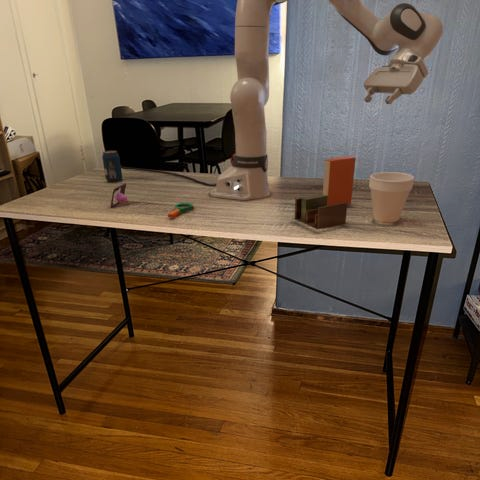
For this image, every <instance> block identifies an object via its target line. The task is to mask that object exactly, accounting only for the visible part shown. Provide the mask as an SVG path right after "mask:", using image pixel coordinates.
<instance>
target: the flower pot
mask: <svg viewBox="0 0 480 480" xmlns="http://www.w3.org/2000/svg"><path fill="white" fill-rule="evenodd" d="M369 177H370V178H369V184H368V187H369V190H370V199H371V207H372V208H371V209H372V216H373V219H374V221H377V222H379V223H380V222H381V223H395V222H398V221H399V219H400V217H401V215H402V213H403V210H404V208H405V205H406V202H407V200H408V198H409V195H410V192H411V190H412V189H413V188H414V187H413V185H414V180H415V176H413V175H412V174H409V173H404V172H397V171H380V172H374V173H372V174H370V176H369Z"/></svg>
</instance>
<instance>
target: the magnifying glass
mask: <svg viewBox="0 0 480 480" xmlns="http://www.w3.org/2000/svg"><path fill="white" fill-rule="evenodd" d="M193 209H194V204H193V203H192V202H179V203H177V204H175V205H174V210H172V211H171V212H169V213H167V218H169V219H173V218H175V217H176V216H178V215H179V214H182V213H185V212H188V211H191V210H193Z"/></svg>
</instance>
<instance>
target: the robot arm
mask: <svg viewBox="0 0 480 480" xmlns="http://www.w3.org/2000/svg"><path fill="white" fill-rule="evenodd" d="M288 1H289V0H237V1H236V8H235V19H234V59H235V64H236V65H235V66H236V75H237V81H236V82H235V83H234V84H233V86H232V88H231V90H230V93H229V94H230V96H229V100H230V103H231V113H232V119H233V125H234V126H233V127H234V134H235V136H234V137H235V138H234V139H235V140H234V141H235V153H234V154H233V155H232V156H231V157H230V158H229V163H230V166H228V168H227V169H225V170H224V171H223V172H222V173H221V174H220V175H219V176H218V177H217V179H216V183H213V184H212V183H207V182H204V181H201V180H197V179H195V178H193V177H190V176H187V175H183V174H180V173H176V172H170V171H163V170H157V169H147V168H138V167H131V166H130V167H129V166H124V165H123V166H122V165H121V169H126V170H127V169H128V170H134V171H135V170H136V171H143V172H145V171H146V172H151V173H152V172H153V173H161V174H168V175H173V176H177V177H181V178H185V179H188V180H191V181H193V182H196V183H198V184H201V185H205V186H208V187H215V188H213V189H212V190H210V197H213V198H221V199H231V200H236V201H238V200H239V201H250V200H255V199H262V198H266V197H269V196H270V195H271V194H272V193H271V189H270V186H269V180H268V170H269V157H268V156H269V155H268V154H267V127H266V126H267V125H266V113H265V106H266V105H267V103H268V101H269V98H270V61H269V60H270V59H269V57H270V56H269V53H270V51H269V50H270V30H271V29H270V27H271V25H270V24H271V13H272V9H273V7H275V6H277V5H280V4H284V3H286V2H288ZM327 2H329V3H330V4H331V5H332V6H333V7H334V9H335V10H336V12H337V13H338V14H339V16H341V17H342V18H343V19H344V20H345V21H346V22H347V23H348V24H350V26H352V27H353V28H354V29H355V30H356V31H357V32H359V33H360V34H361V35H362V36H363V37H364V38H365V39H366V40H367V41H368V43H369V44H370V46H371V48H372V49H373V51H375V53H377V54H378V55H380V56H384V57H385V56H386V57H387V56H391V55H393V57H391V59H390V60H389V62H388V65H381V66H379V67H377V68H375V69H374V70H373V71H372V72H371V73H370V74H369V75H368V77H367V78H366V79H365V80H364V82H363V87H364V89H365V91H366V95H365V96H364V98H363V100H364V103H371V101H372V100H373V97H372V96H373V95H375V94H390V95H387V96H386V98H385V99H384V102H385V104H386V105H392V104H393V102H394V101H396V100H397V99H398V98H400V97H401V96H402V95H407V96H408V95H409V96H410V95H412V94H414V93H415V92H416V91H417V90H418V89H419V87H420V86H421V85H422V83H423V82H424V79H425V78H426V77H427V76H428V75H429V70H428V68H427V65H426V64H425V60H426V59H427V58H428V57H429V56H430V55H431V54H432V52H433V51H434V49H435V48H436V46H437V45H438V43H439V42H440V40H441V38H442V36H443V32H444V25H443V23H442V21H441V19H440V17H438V16H437V15H435V14H433V13H423V12H421V11H419V10H418V9H417V8H416V7H415V6H414V5H412V4H410V3H407V2H404V3H403V2H402V3H399V4H397V5H395V6H394V7H393V8H392V10H390V12H389V13H388V14H387V15H386V16H385V18H382V19H381V18H378V17H377V16H376V15H375V14H374V13H373V12H372V11H371V10H370V9H368V8H367V7H366V6H365V5H364V4H363V3H362V1H361V0H327ZM394 53H395V54H394Z"/></svg>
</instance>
